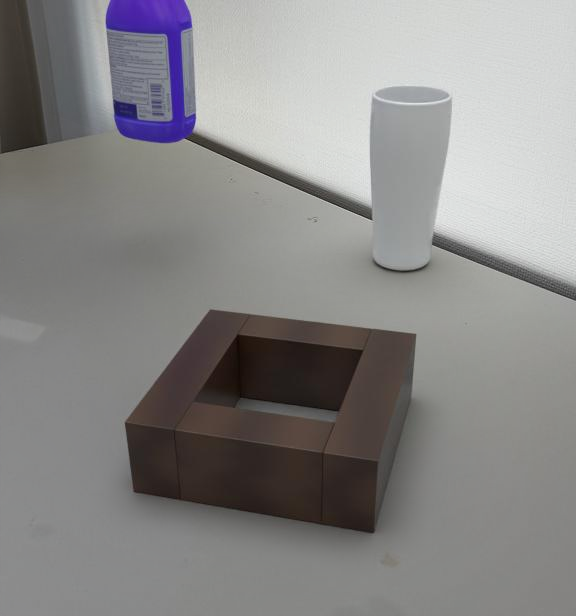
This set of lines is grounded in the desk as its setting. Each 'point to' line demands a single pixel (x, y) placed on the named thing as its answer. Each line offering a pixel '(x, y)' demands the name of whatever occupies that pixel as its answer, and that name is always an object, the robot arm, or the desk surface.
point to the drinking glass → (407, 171)
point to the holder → (276, 418)
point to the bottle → (152, 69)
